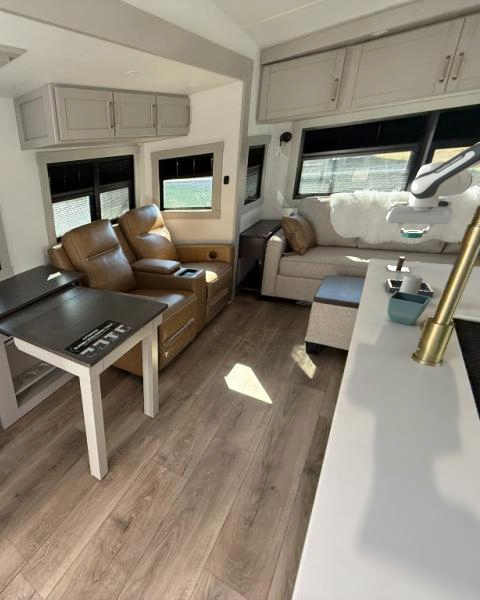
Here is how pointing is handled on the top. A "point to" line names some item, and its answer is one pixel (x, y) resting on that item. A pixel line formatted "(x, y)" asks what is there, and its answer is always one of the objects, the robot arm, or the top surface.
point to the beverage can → (411, 284)
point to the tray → (396, 284)
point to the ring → (412, 234)
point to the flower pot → (406, 307)
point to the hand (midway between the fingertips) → (412, 233)
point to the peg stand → (399, 266)
